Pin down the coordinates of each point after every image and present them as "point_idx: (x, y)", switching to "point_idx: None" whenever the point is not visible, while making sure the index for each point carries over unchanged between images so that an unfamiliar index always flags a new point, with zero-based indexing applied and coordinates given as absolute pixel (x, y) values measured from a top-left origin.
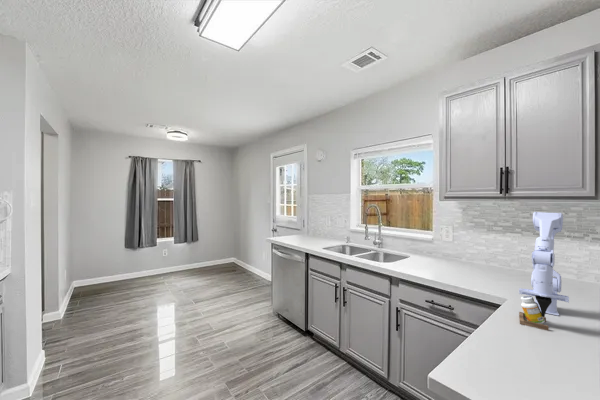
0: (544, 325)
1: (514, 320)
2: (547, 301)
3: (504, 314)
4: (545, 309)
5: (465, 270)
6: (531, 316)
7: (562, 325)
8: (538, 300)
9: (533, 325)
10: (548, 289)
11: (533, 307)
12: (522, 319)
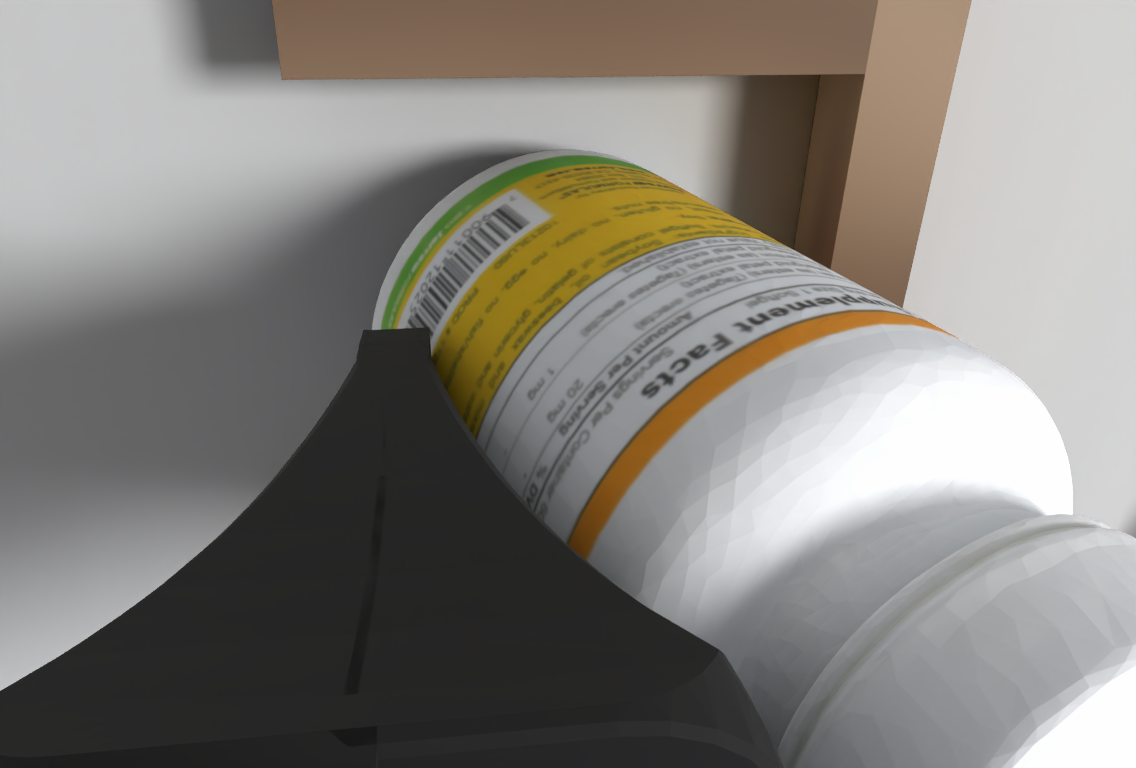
0: (371, 5)
1: (986, 151)
2: (120, 752)
3: (1098, 395)
4: (316, 465)
5: None
6: (705, 213)
7: (66, 555)
8: (659, 678)
9: None
10: None
11: (749, 383)
12: (883, 109)
